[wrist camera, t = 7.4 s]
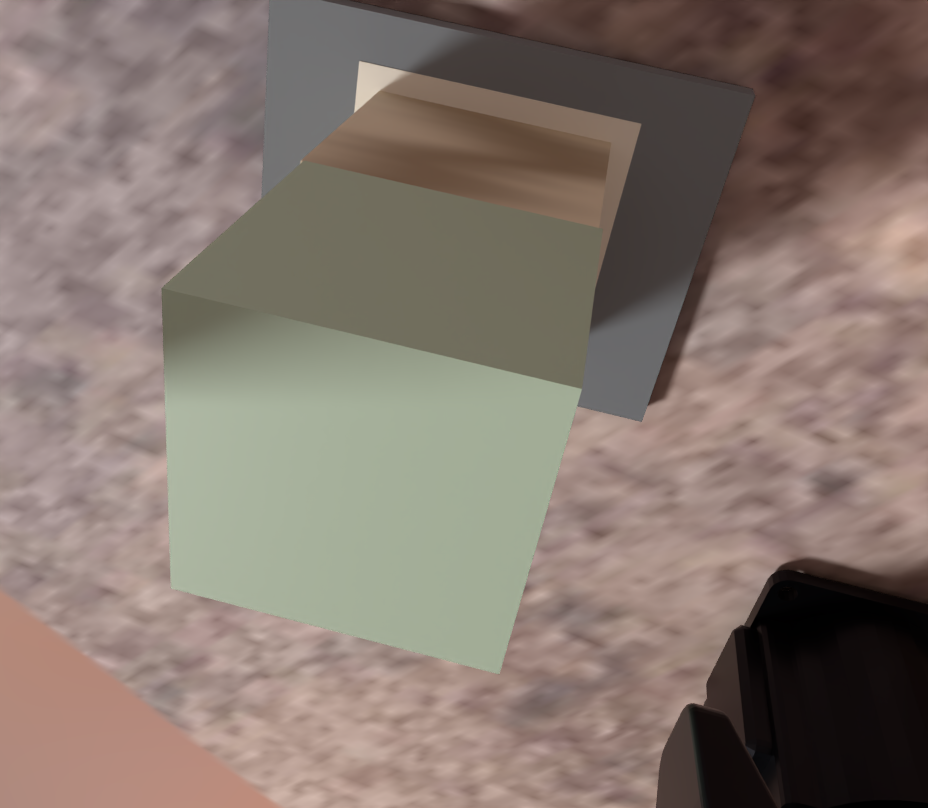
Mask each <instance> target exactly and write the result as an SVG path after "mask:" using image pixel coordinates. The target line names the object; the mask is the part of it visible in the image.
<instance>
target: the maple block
mask: <svg viewBox="0 0 928 808" xmlns="http://www.w3.org/2000/svg"><path fill="white" fill-rule="evenodd" d="M610 148H611V142H606V141H602V140H597V139H593V138H588V137H584V136H579V135H575V134H571V133H566V132H562V131H557V130H553V129H548V128H544V127H539V126H535V125H531V124H526V123H522V122H517V121H513V120H508V119H504V118H499V117H495V116H491V115H486V114H482V113H477V112H473V111H468V110H464V109H459V108H455V107H451V106H446V105H442V104H437V103H433V102H428V101H424V100H419V99H415V98H411V97H406V96H402V95H397V94H393V93H388V92H384V91H379V92H377V93H376V94H375V95H374V96H373V97H372V98H371V99H370V100H368V101H367V102H366V103H365V104H364V105H363V106H362V107H361V108H359V109H358V110H357V111H356V112H355V113H354V114H353V115H352V116H350V117H349V118H348V119H347V120H346V121H345V122H344V123H342V124H341V125H340V126H339V127H338V128H337V129H336V130H335V131H333V132H332V133H331V134H330V135H329V136H328V137H327V138H326V139H324V140H323V141H322V142H321V143H320V144H319V145H318V146H317V147H315V148H314V149H313V150H312V151H311V152H310V153H309V154H308V155H306V156H305V157H304V158H303V159H302V160H301V161H300V164H301V163H302V162H303V161H309V162H313V163H317V164H322V165H326V166H331V167H335V168H339V169H344V170H348V171H352V172H357V173H361V174H366V175H370V176H374V177H379V178H383V179H387V180H392V181H396V182H401V183H405V184H409V185H414V186H418V187H422V188H427V189H431V190H435V191H440V192H444V193H449V194H453V195H457V196H462V197H466V198H470V199H475V200H479V201H484V202H488V203H492V204H497V205H501V206H505V207H510V208H514V209H519V210H523V211H527V212H532V213H536V214H540V215H545V216H549V217H553V218H558V219H562V220H567V221H571V222H575V223H580V224H584V225H588V226H593V227H597V228H599V225H600V218H601V211H602V204H603V197H604V190H605V183H606V176H607V169H608V162H609V155H610Z"/></svg>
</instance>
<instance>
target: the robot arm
mask: <svg viewBox="0 0 928 808" xmlns="http://www.w3.org/2000/svg"><path fill="white" fill-rule="evenodd" d="M784 587H792V588H793V589H791V590H788V591H787V590H781V588H784ZM706 687H707V699H706V701H705V703H704V706H702V705H698V704H694V703H690V704H688V705H687V706H686V707H685V708H684V709H683V711H682V712H681V714H680V716H679V718H678V721H677V723H676V725H675V727H674V729H673V731H672V733H671V735H670V737H669V739H668V741H667V743H666V745H665V747H664V750H663V753H662V757H661V762H660V768H659V779H658V790H657V802H656V808H928V605H927V604H923V603H919V602H915V601H911V600H907V599H903V598H899V597H895V596H891V595H887V594H883V593H879V592H875V591H871V590H867V589H863V588H859V587H856V586H852V585H848V584H844V583H840V582H836V581H832V580H828V579H824V578H820V577H816V576H812V575H808V574H804V573H800V572H796V571H790V570H782V571H778V572H776V573H774V574H772V575H771V576H770V577H769V578H768V580H767V582H766V584H765V586H764V588H763V590H762V592H761V594H760V596H759V598H758V600H757V602H756V603H755V605H754V607H753V609H752V611H751V613H750V615H749V617H748V619H747V621H746V623H745V625H744V626H743V625H740V626H739V627H737V628H736V629H734V630H733V631H732V633H731V635H730V637H729V639H728V641H727V643H726V645H725V647H724V649H723V651H722V653H721V655H720V657H719V659H718V661H717V663H716V665H715V667H714V669H713V671H712V673H711V675H710V677H709V679H708V681H707V684H706Z"/></svg>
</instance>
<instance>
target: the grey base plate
mask: <svg viewBox="0 0 928 808" xmlns="http://www.w3.org/2000/svg"><path fill="white" fill-rule="evenodd" d="M379 91H384V92H388V93H393V94H397V95H402V96H406V97H411V98H415V99H419V100H424V101H428V102H433V103H437V104H442V105H446V106H451V107H455V108H459V109H464V110H468V111H473V112H477V113H482V114H486V115H491V116H495V117H499V118H504V119H508V120H513V121H517V122H522V123H526V124H531V125H535V126H539V127H544V128H548V129H553V130H557V131H562V132H566V133H571V134H575V135H579V136H584V137H588V138H593V139H597V140H602V141H606V142H611V148H610V155H609V162H608V169H607V176H606V183H605V190H604V197H603V204H602V211H601V218H600V225H599V228H602V229H603V233H602V240H601V248H600V255H599V263H598V271H597V278H596V286H595V294H594V301H593V309H592V317H591V324H590V332H589V339H588V347H587V355H586V362H585V370H584V378H583V385H582V391H581V394H580V398H579V401H578V405H577V406H579V407H583V408H587V409H591V410H595V411H599V412H603V413H607V414H612V415H616V416H620V417H624V418H628V419H632V420H636V421H640V422H642V420H643V417H644V414H645V411H646V408H647V405H648V403H649V400H650V397H651V394H652V391H653V388H654V385H655V382H656V380H657V377H658V374H659V371H660V368H661V365H662V362H663V359H664V357H665V354H666V351H667V348H668V345H669V342H670V339H671V336H672V334H673V331H674V328H675V325H676V322H677V319H678V316H679V313H680V311H681V308H682V305H683V302H684V299H685V296H686V293H687V290H688V288H689V285H690V282H691V279H692V276H693V273H694V270H695V267H696V265H697V262H698V259H699V256H700V253H701V250H702V247H703V244H704V242H705V239H706V236H707V233H708V230H709V227H710V224H711V221H712V219H713V216H714V213H715V210H716V207H717V204H718V201H719V198H720V196H721V193H722V190H723V187H724V184H725V181H726V178H727V175H728V173H729V170H730V167H731V164H732V161H733V158H734V155H735V152H736V150H737V147H738V144H739V141H740V138H741V135H742V132H743V129H744V127H745V124H746V121H747V118H748V115H749V112H750V109H751V106H752V104H753V101H754V98H755V94H754V91H753V89H751V88H747V87H742V86H738V85H733V84H729V83H724V82H719V81H715V80H710V79H706V78H701V77H697V76H692V75H688V74H683V73H678V72H674V71H669V70H665V69H660V68H656V67H651V66H647V65H642V64H637V63H633V62H628V61H624V60H619V59H615V58H610V57H605V56H601V55H596V54H592V53H587V52H583V51H578V50H574V49H569V48H564V47H560V46H555V45H551V44H546V43H542V42H537V41H533V40H528V39H523V38H519V37H514V36H510V35H505V34H501V33H496V32H492V31H487V30H482V29H478V28H473V27H469V26H464V25H460V24H455V23H450V22H446V21H441V20H437V19H432V18H428V17H423V16H419V15H414V14H409V13H405V12H400V11H396V10H391V9H387V8H382V7H378V6H373V5H368V4H364V3H359V2H355V1H350V0H269V25H268V50H267V75H266V99H265V124H264V149H263V174H262V198H263V197H264V196H265V195H266V194H267V193H268V192H269V191H270V190H272V189H273V188H274V187H275V186H276V185H277V184H278V183H279V182H280V181H282V180H283V179H284V178H285V177H286V176H287V175H288V174H289V173H291V172H292V171H293V170H294V169H295V168H296V167H297V166H298V165H299V164H300V161H301V160H302V159H303V158H304V157H305V156H306V155H308V154H309V153H310V152H311V151H312V150H313V149H314V148H315V147H317V146H318V145H319V144H320V143H321V142H322V141H323V140H324V139H326V138H327V137H328V136H329V135H330V134H331V133H332V132H333V131H335V130H336V129H337V128H338V127H339V126H340V125H341V124H342V123H344V122H345V121H346V120H347V119H348V118H349V117H350V116H352V115H353V114H354V113H355V112H356V111H357V110H358V109H359V108H361V107H362V106H363V105H364V104H365V103H366V102H367V101H368V100H370V99H371V98H372V97H373V96H374V95H375V94H376V93H377V92H379Z"/></svg>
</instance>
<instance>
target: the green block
mask: <svg viewBox="0 0 928 808" xmlns="http://www.w3.org/2000/svg"><path fill="white" fill-rule="evenodd" d="M602 233H603V229H602V228H597V227H593V226H588V225H584V224H580V223H575V222H571V221H567V220H562V219H558V218H553V217H549V216H545V215H540V214H536V213H532V212H527V211H523V210H519V209H514V208H510V207H505V206H501V205H497V204H492V203H488V202H484V201H479V200H475V199H470V198H466V197H462V196H457V195H453V194H449V193H444V192H440V191H435V190H431V189H427V188H422V187H418V186H414V185H409V184H405V183H401V182H396V181H392V180H387V179H383V178H379V177H374V176H370V175H366V174H361V173H357V172H352V171H348V170H344V169H339V168H335V167H331V166H326V165H322V164H317V163H313V162H309V161H303V162H302V163H301V164H299V165H298V166H297V167H296V168H295V169H294V170H293V171H292V172H291V173H289V174H288V175H287V176H286V177H285V178H284V179H283V180H282V181H280V182H279V183H278V184H277V185H276V186H275V187H274V188H273V189H272V190H270V191H269V192H268V193H267V194H266V195H265V196H264V197H263V198H262V199H260V200H259V201H258V202H257V203H256V204H255V205H254V206H253V207H251V208H250V209H249V210H248V211H247V212H246V213H245V214H244V215H243V216H241V217H240V218H239V219H238V220H237V221H236V222H235V223H234V224H232V225H231V226H230V227H229V228H228V229H227V230H226V231H225V232H224V233H222V234H221V235H220V236H219V237H218V238H217V239H216V240H215V241H214V242H212V243H211V244H210V245H209V246H208V247H207V248H206V249H205V250H203V251H202V252H201V253H200V254H199V255H198V256H197V257H196V258H195V259H193V260H192V261H191V262H190V263H189V264H188V265H187V266H186V267H185V268H183V269H182V270H181V271H180V272H179V273H178V274H177V275H176V276H174V277H173V278H172V279H171V280H170V281H169V282H168V283H167V284H166V285H164V286H163V287H162V319H163V351H164V383H165V416H166V448H167V480H168V512H169V544H170V576H171V589H175V590H179V591H183V592H187V593H190V594H194V595H198V596H202V597H206V598H210V599H213V600H217V601H221V602H225V603H229V604H232V605H236V606H240V607H244V608H248V609H252V610H255V611H259V612H263V613H267V614H271V615H275V616H278V617H282V618H286V619H290V620H294V621H297V622H301V623H305V624H309V625H313V626H317V627H320V628H324V629H328V630H332V631H336V632H339V633H343V634H347V635H351V636H355V637H359V638H362V639H366V640H370V641H374V642H378V643H382V644H385V645H389V646H393V647H397V648H401V649H404V650H408V651H412V652H416V653H420V654H424V655H427V656H431V657H435V658H439V659H443V660H447V661H450V662H454V663H458V664H462V665H466V666H469V667H473V668H477V669H481V670H485V671H489V672H492V673H496V674H499V673H500V670H501V667H502V663H503V660H504V656H505V653H506V649H507V646H508V642H509V639H510V636H511V632H512V629H513V625H514V622H515V618H516V615H517V611H518V608H519V605H520V601H521V598H522V594H523V591H524V587H525V584H526V580H527V577H528V573H529V570H530V567H531V563H532V560H533V556H534V553H535V549H536V546H537V542H538V539H539V536H540V532H541V529H542V525H543V522H544V518H545V515H546V511H547V508H548V505H549V501H550V498H551V494H552V491H553V487H554V484H555V480H556V477H557V474H558V470H559V467H560V463H561V460H562V456H563V453H564V449H565V446H566V443H567V439H568V436H569V432H570V429H571V425H572V422H573V418H574V415H575V412H576V408H577V405H578V401H579V398H580V394H581V391H582V385H583V378H584V370H585V362H586V355H587V347H588V339H589V332H590V324H591V317H592V309H593V301H594V294H595V286H596V278H597V271H598V263H599V255H600V248H601V240H602Z"/></svg>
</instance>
